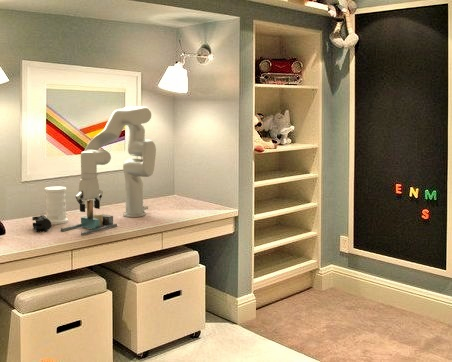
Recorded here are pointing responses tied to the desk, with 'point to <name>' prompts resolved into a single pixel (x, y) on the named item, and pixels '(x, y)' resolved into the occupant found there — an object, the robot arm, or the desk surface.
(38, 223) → the end cap
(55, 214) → the decorative container
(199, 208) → the desk surface
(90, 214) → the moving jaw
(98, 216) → the beige cylinder
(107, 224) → the vise frame
